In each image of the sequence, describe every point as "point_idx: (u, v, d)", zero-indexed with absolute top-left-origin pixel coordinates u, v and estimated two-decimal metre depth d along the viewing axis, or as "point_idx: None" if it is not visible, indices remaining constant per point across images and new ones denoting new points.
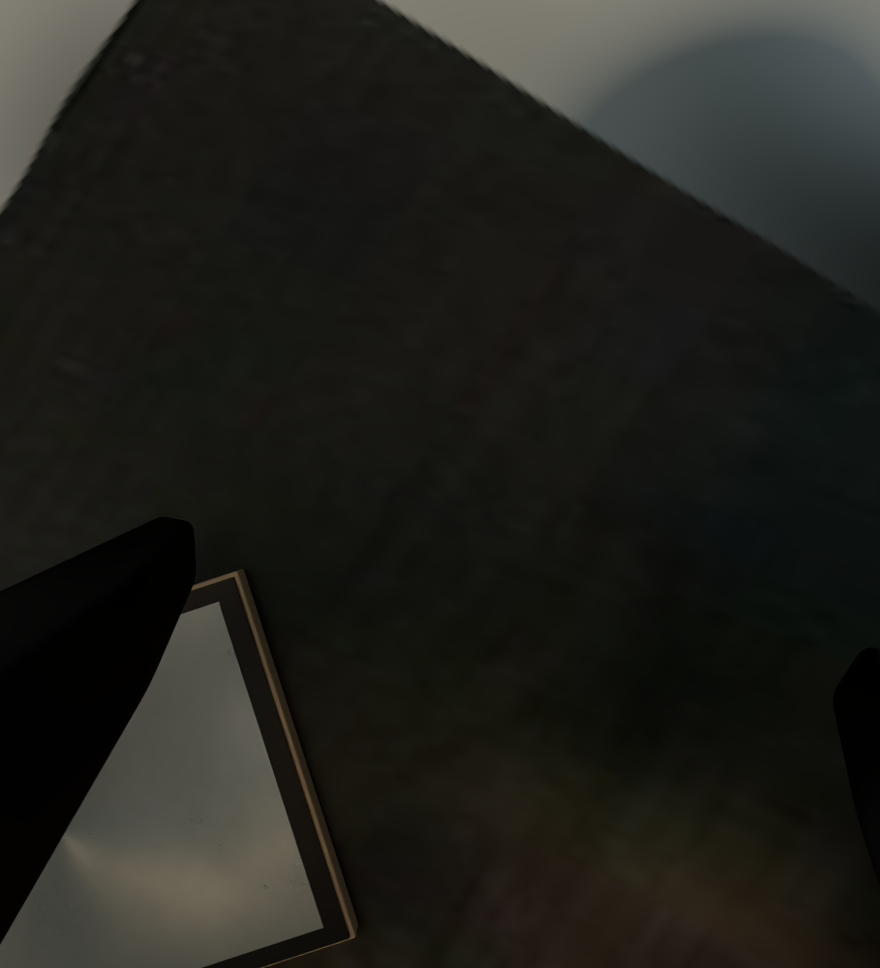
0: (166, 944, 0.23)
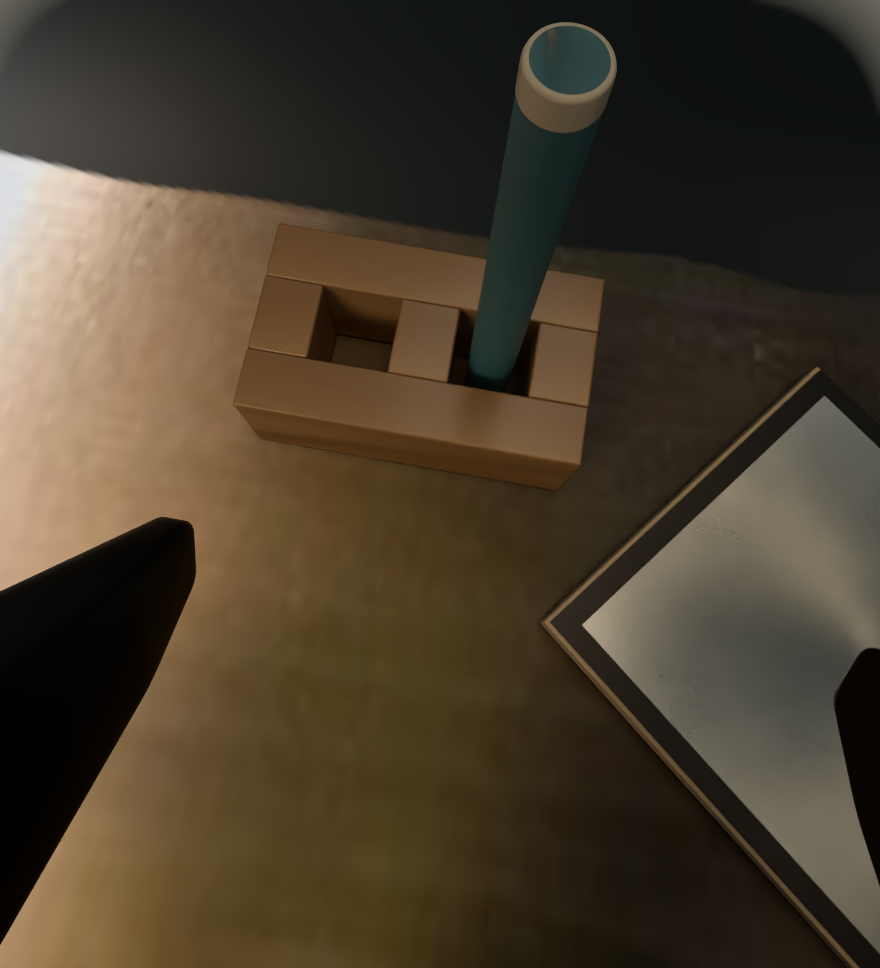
0: (838, 853, 0.20)
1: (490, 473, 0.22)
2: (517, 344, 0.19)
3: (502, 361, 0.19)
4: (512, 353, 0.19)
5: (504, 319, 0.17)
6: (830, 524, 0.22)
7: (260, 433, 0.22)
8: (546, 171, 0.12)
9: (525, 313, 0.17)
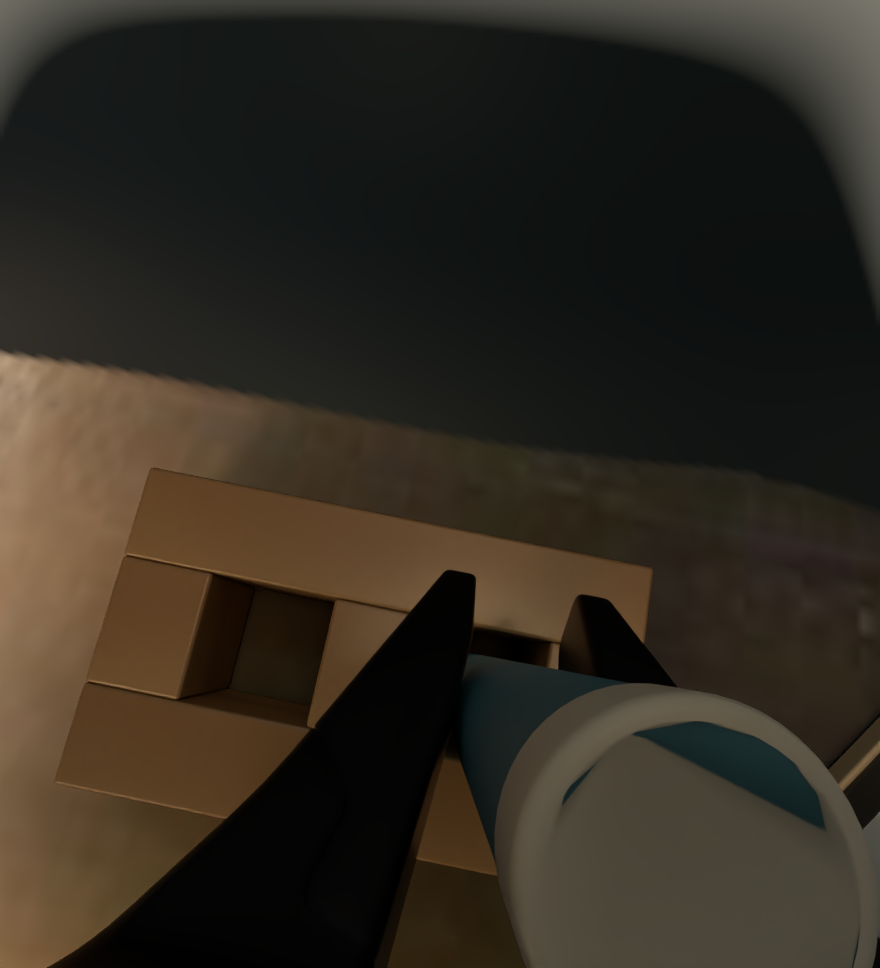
0: None
1: None
2: None
3: None
4: None
5: None
6: None
7: None
8: None
9: None
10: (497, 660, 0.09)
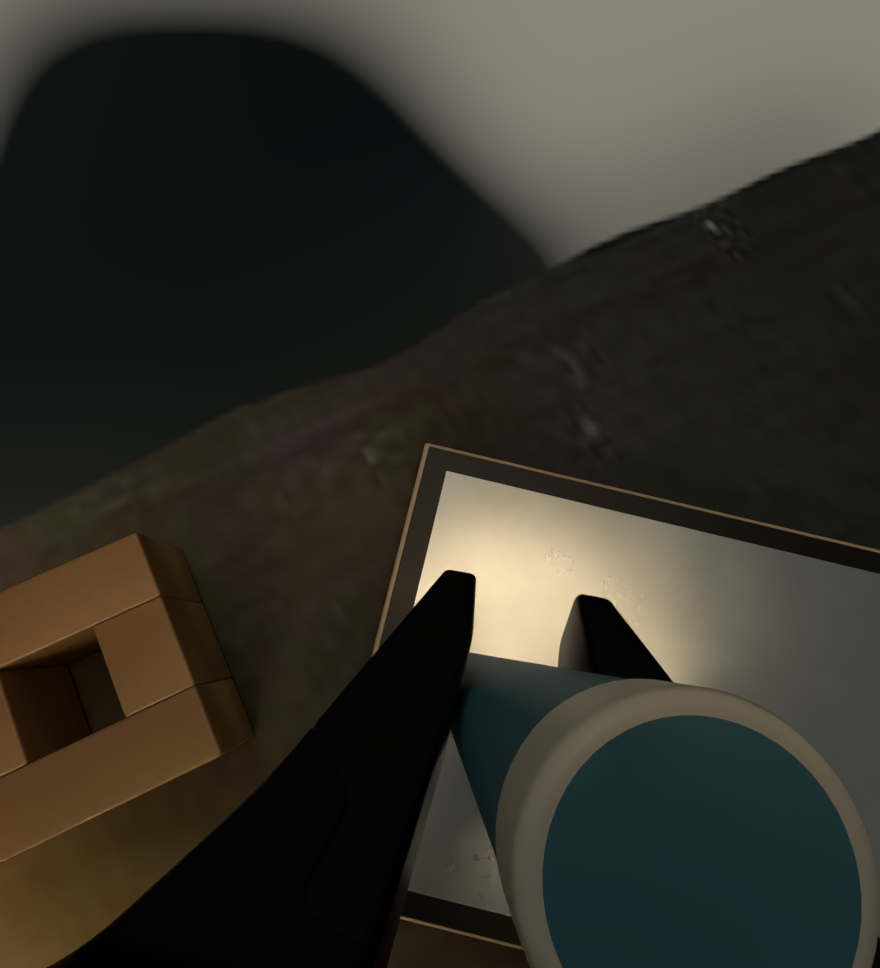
0: None
1: None
2: None
3: None
4: None
5: None
6: (523, 597, 0.20)
7: None
8: None
9: None
10: (497, 658, 0.09)
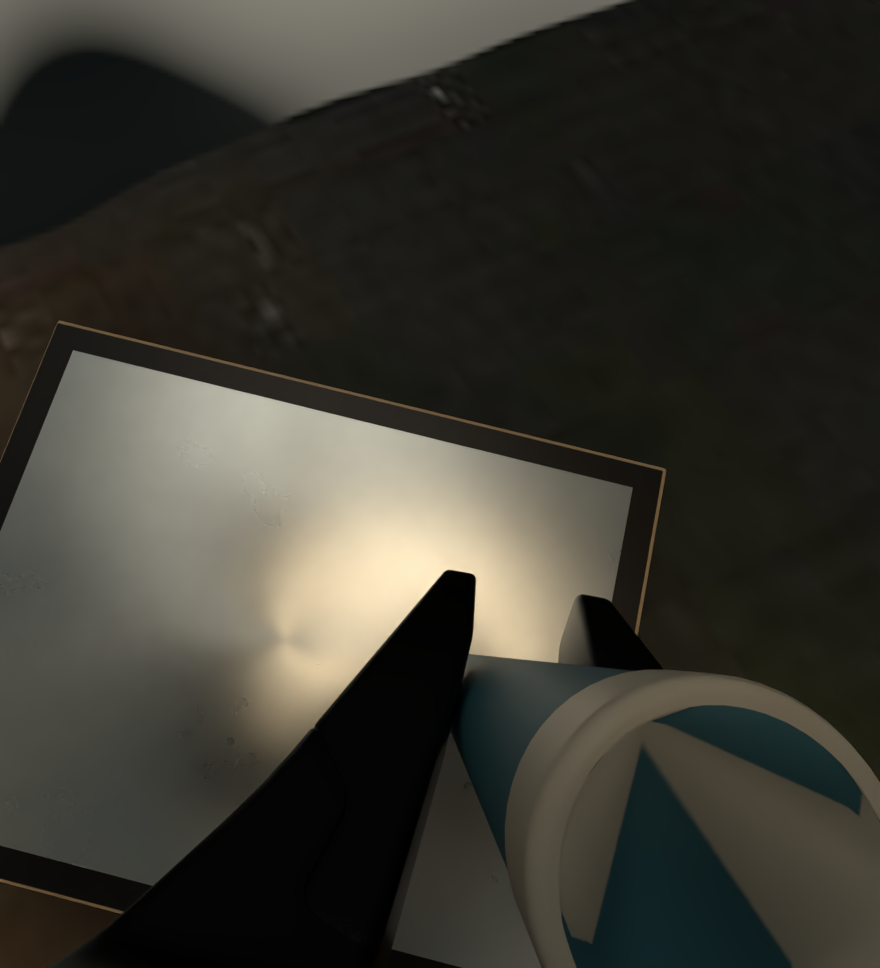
0: None
1: None
2: None
3: None
4: None
5: None
6: (144, 494, 0.17)
7: None
8: None
9: None
10: (498, 658, 0.09)
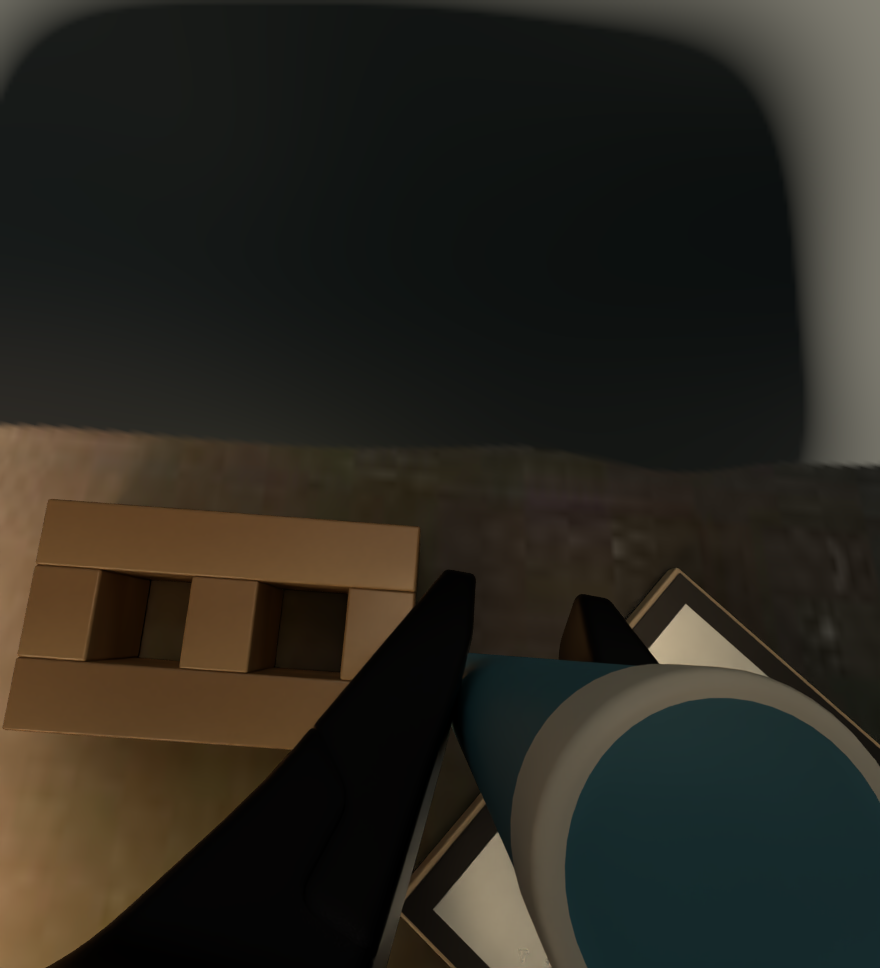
0: None
1: None
2: None
3: None
4: None
5: None
6: None
7: None
8: None
9: None
10: (500, 656, 0.09)
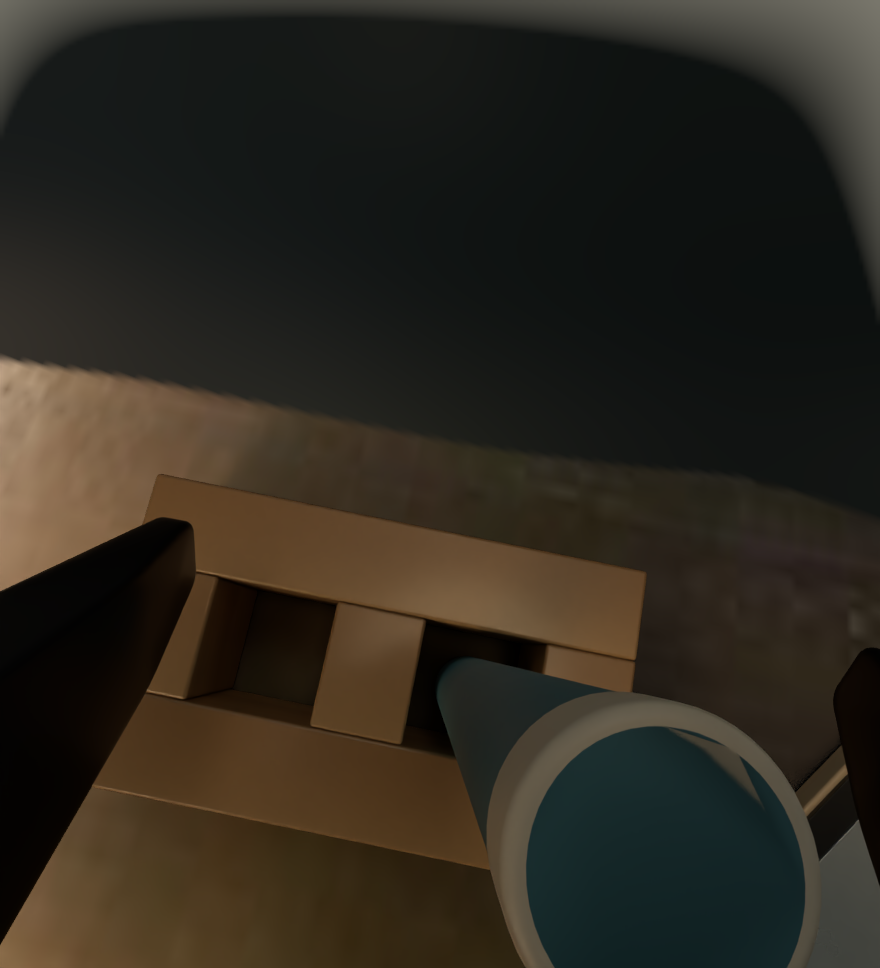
0: None
1: None
2: None
3: None
4: None
5: None
6: None
7: None
8: None
9: None
10: (492, 665, 0.09)
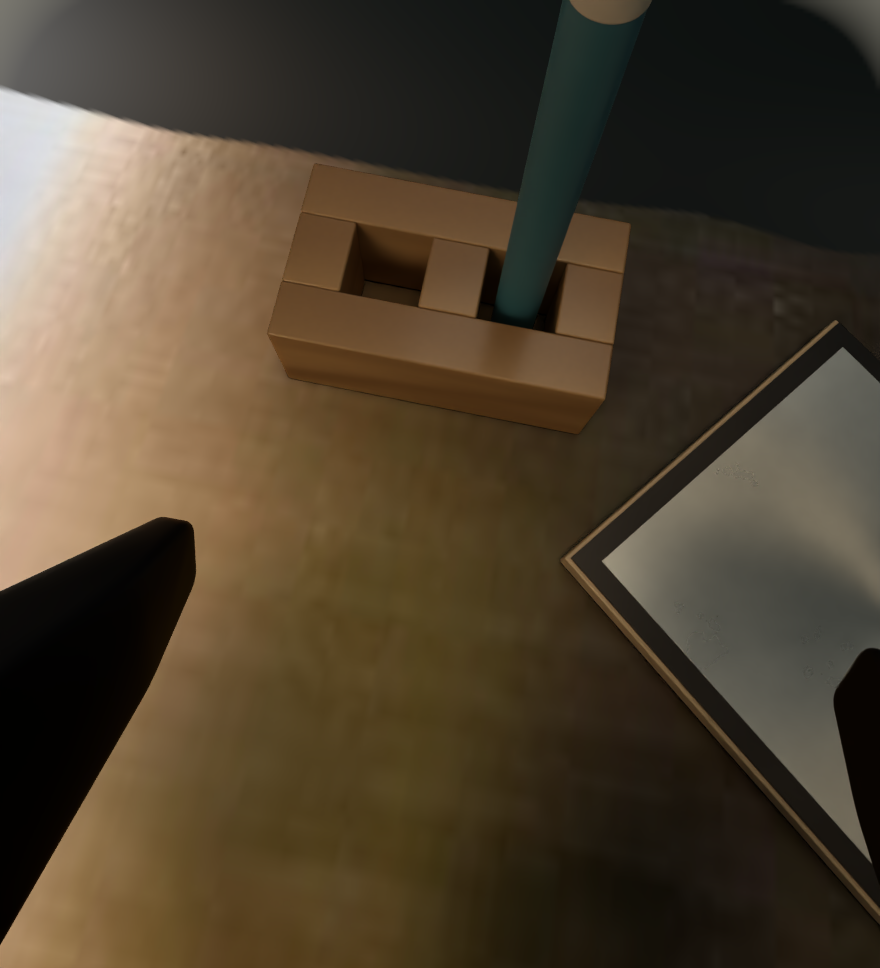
0: (850, 787, 0.20)
1: (514, 414, 0.23)
2: (546, 277, 0.19)
3: (530, 296, 0.20)
4: (540, 288, 0.19)
5: (536, 245, 0.17)
6: (847, 470, 0.22)
7: (289, 371, 0.23)
8: (591, 70, 0.12)
9: (557, 239, 0.17)
10: None
